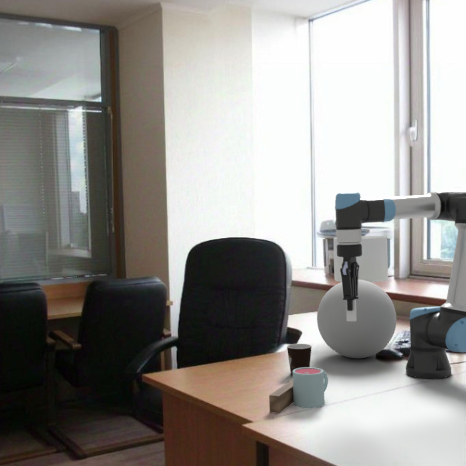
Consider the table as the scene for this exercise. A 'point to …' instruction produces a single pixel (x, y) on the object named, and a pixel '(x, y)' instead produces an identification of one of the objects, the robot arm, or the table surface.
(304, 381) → the mug
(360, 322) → the sphere
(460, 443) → the table surface
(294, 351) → the coffee mug
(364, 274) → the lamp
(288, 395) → the batten
